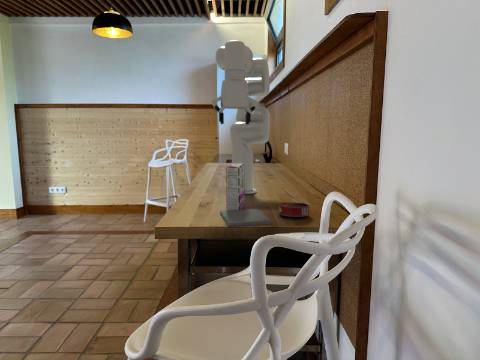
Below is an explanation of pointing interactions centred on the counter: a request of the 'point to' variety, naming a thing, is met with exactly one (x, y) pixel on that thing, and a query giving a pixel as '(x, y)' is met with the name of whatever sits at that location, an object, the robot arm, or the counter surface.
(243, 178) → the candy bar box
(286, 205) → the canned food
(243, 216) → the mat
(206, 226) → the counter surface
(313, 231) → the counter surface
